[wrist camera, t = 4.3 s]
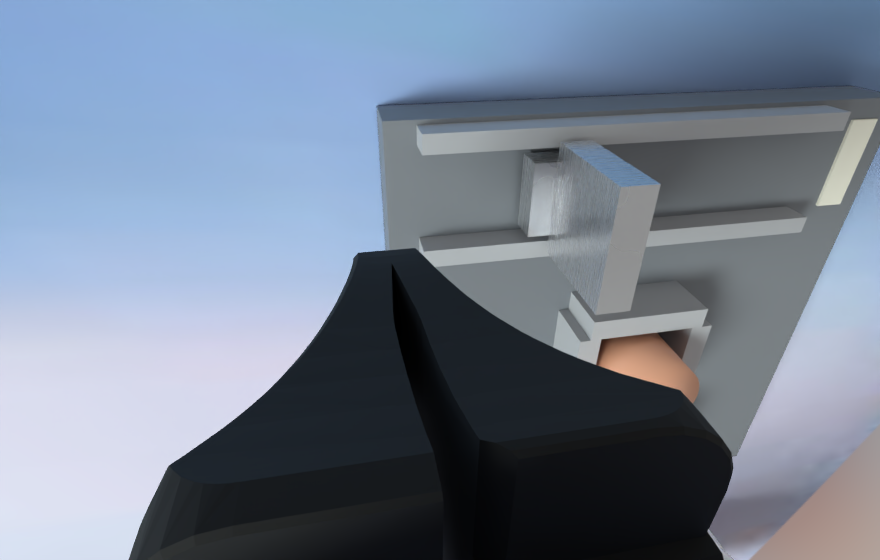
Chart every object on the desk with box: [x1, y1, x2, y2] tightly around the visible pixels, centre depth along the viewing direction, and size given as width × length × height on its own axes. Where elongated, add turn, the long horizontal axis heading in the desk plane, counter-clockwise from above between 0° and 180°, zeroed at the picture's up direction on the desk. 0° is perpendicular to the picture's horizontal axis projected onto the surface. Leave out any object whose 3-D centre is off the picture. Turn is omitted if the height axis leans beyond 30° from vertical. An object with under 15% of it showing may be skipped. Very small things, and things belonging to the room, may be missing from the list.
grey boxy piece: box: [518, 140, 661, 315], centre depth 15 cm, size 4×2×5 cm, turn 0°
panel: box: [377, 86, 880, 457], centre depth 21 cm, size 19×18×4 cm
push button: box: [596, 333, 699, 403], centre depth 19 cm, size 3×3×3 cm
